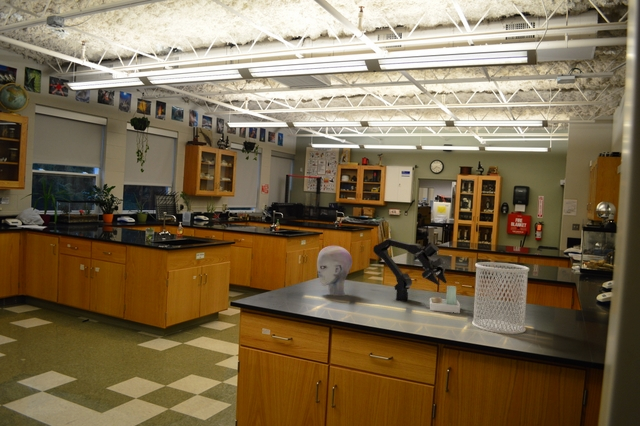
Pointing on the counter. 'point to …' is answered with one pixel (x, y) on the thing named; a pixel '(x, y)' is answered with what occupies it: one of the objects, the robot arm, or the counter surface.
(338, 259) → the sculpture
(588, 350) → the counter surface
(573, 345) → the counter surface
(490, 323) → the wastebasket
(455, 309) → the tote
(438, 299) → the cube
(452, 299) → the canister
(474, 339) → the counter surface
